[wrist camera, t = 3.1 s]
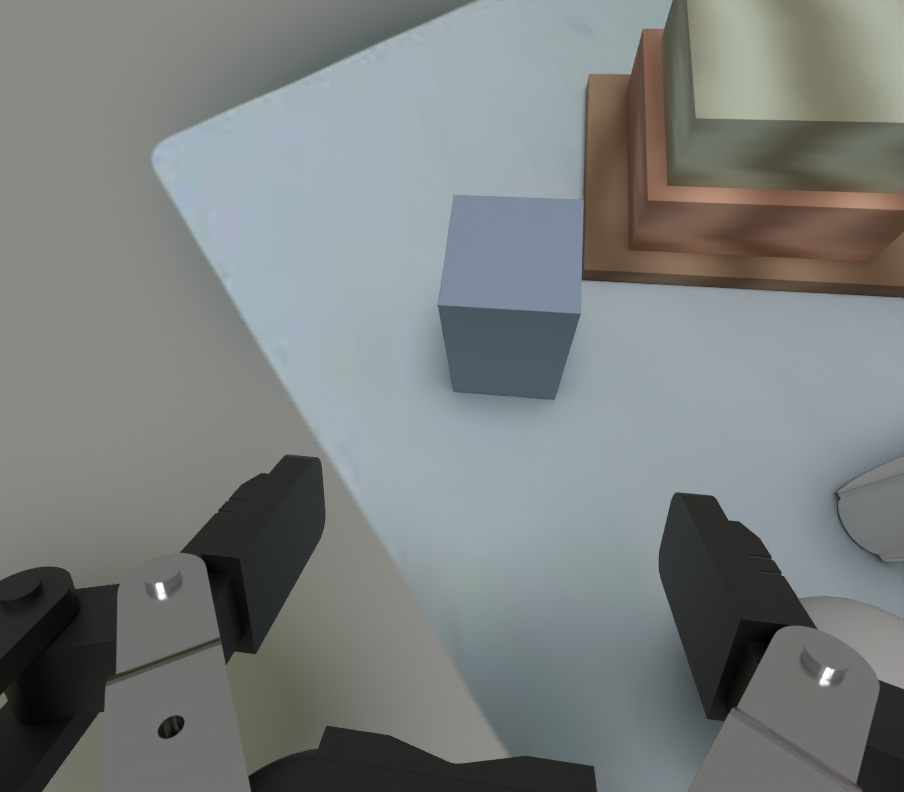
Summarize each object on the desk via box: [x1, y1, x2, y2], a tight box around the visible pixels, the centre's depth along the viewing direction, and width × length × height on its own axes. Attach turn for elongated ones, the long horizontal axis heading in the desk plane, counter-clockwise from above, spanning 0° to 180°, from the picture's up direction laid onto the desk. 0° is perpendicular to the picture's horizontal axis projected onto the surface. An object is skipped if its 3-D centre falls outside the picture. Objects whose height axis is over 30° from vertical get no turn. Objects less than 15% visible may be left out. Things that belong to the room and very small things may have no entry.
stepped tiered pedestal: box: [582, 0, 904, 297], centre depth 29 cm, size 18×16×9 cm
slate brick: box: [438, 195, 584, 400], centre depth 25 cm, size 6×6×9 cm
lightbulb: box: [799, 596, 904, 689], centre depth 18 cm, size 6×6×11 cm
